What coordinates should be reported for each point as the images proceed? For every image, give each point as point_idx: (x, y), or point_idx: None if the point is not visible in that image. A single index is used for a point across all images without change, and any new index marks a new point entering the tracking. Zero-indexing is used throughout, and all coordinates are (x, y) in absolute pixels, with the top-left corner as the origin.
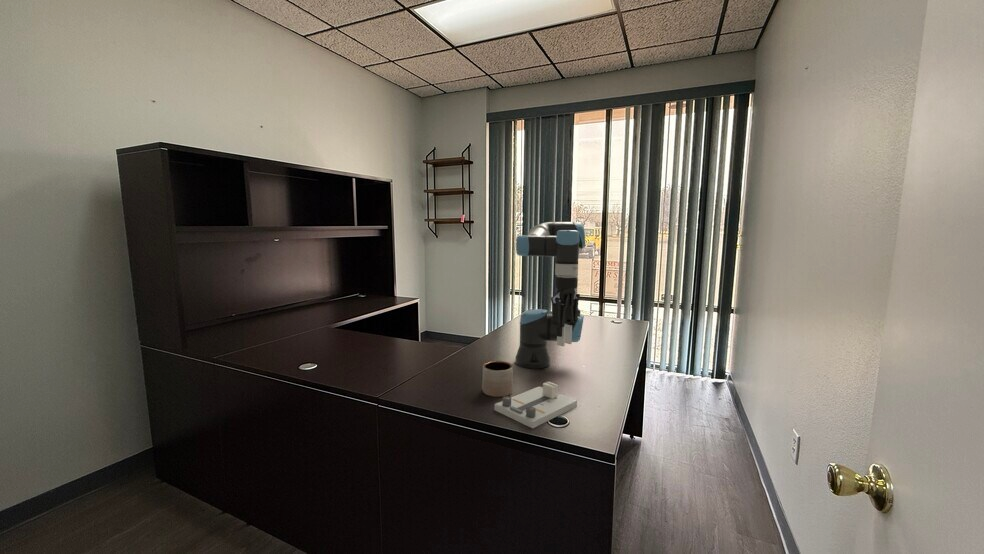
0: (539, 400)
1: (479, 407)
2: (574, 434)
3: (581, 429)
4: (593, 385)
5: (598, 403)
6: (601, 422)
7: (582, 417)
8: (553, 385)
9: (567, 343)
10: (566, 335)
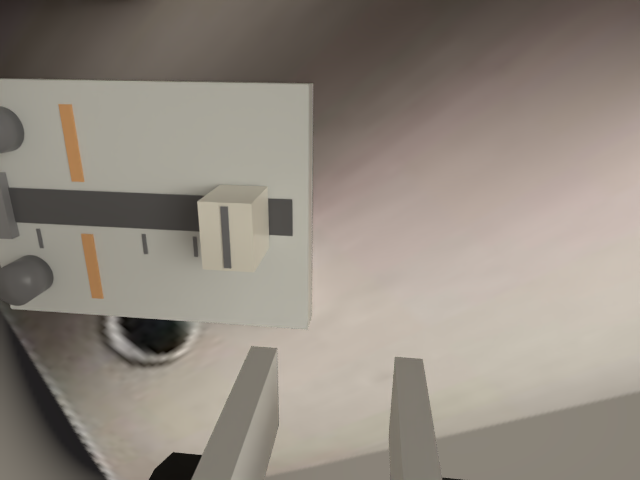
0: (164, 211)
1: None
2: (124, 408)
3: (169, 409)
4: (620, 249)
5: None
6: None
7: None
8: (224, 262)
9: (391, 403)
10: (397, 463)
